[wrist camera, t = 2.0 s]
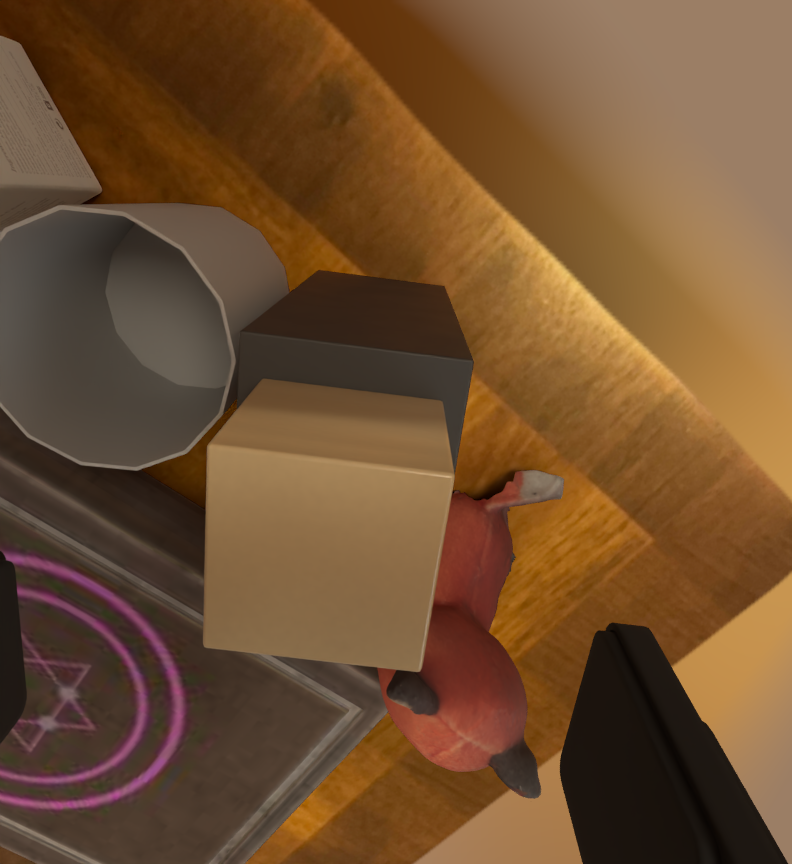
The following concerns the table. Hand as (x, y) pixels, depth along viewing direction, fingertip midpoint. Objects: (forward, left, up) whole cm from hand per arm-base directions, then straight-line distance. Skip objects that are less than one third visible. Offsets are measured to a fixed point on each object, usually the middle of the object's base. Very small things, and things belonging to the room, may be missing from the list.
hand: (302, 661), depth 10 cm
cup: (-2, -8, -21) cm, 23 cm away
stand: (0, 0, -21) cm, 21 cm away
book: (+17, -15, -21) cm, 31 cm away
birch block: (0, 0, -7) cm, 7 cm away
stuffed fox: (+9, +6, -21) cm, 24 cm away
